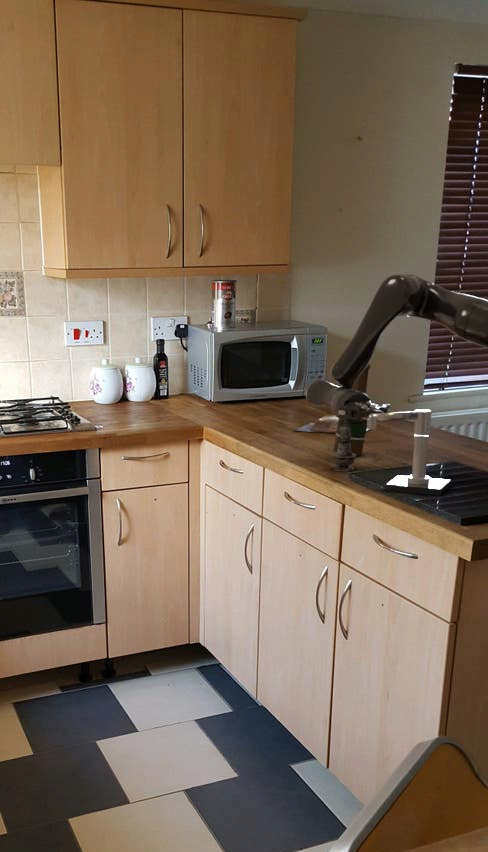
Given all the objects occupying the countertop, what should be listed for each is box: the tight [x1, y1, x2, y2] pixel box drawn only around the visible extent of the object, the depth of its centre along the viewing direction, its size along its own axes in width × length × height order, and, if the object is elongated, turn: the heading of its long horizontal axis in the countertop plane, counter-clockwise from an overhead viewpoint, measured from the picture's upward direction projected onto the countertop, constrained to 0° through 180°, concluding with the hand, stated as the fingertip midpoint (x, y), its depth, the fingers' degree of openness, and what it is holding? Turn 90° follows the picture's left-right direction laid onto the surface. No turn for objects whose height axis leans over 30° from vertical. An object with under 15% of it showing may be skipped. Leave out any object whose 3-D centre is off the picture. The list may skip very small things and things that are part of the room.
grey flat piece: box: [296, 413, 370, 434], centre depth 278 cm, size 21×20×4 cm
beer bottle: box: [333, 363, 371, 457], centre depth 233 cm, size 8×8×24 cm
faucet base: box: [385, 434, 451, 497], centre depth 196 cm, size 12×10×12 cm
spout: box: [367, 408, 433, 436], centre depth 192 cm, size 14×4×5 cm, turn 98°
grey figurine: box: [331, 421, 357, 472], centre depth 217 cm, size 6×6×12 cm
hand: (379, 416), depth 192 cm, fingers closed
